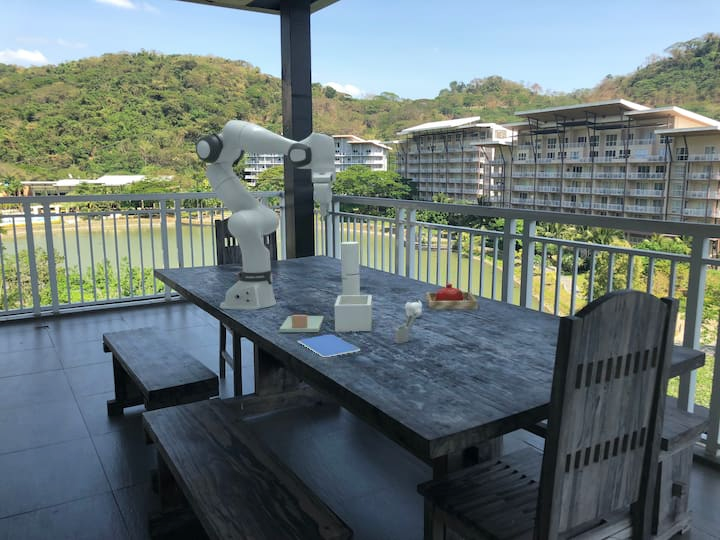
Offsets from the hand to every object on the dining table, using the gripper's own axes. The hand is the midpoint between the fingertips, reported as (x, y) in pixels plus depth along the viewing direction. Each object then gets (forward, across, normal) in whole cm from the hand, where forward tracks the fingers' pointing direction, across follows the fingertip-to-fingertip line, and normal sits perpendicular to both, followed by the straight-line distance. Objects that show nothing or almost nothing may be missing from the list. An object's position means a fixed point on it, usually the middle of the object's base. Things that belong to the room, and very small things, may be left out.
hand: (325, 215), depth 203 cm
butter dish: (+38, -13, +47) cm, 62 cm away
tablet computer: (+38, +42, +4) cm, 57 cm away
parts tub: (+37, +18, +11) cm, 43 cm away
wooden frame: (+37, -13, +48) cm, 62 cm away
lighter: (+37, +37, +28) cm, 60 cm away
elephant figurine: (+37, +7, +32) cm, 50 cm away
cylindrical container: (+37, -15, +8) cm, 41 cm away
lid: (+37, +18, -7) cm, 42 cm away
